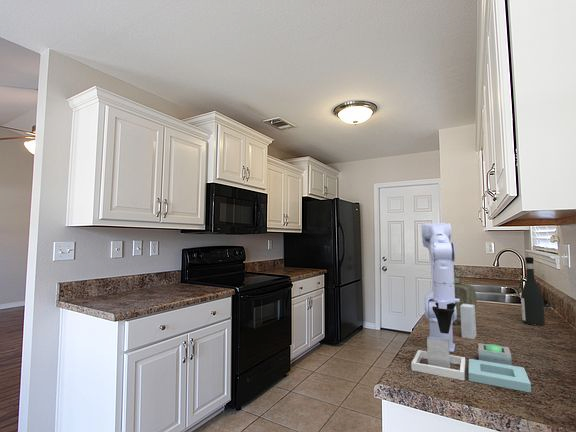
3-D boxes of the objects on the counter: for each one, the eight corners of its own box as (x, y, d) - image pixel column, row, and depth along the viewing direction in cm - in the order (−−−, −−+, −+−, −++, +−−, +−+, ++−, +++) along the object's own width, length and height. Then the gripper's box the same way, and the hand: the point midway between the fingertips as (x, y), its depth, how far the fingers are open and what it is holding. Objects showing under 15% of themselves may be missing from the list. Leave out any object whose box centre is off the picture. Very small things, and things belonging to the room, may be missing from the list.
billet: (429, 363, 94) (428, 335, 95) (450, 367, 91) (449, 338, 92) (428, 367, 91) (427, 339, 91) (449, 371, 88) (448, 342, 89)
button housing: (478, 356, 100) (478, 343, 101) (509, 360, 96) (508, 347, 97) (479, 364, 94) (478, 350, 94) (512, 369, 90) (511, 354, 90)
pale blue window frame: (469, 365, 92) (469, 358, 92) (524, 375, 86) (523, 367, 86) (468, 380, 82) (468, 372, 82) (531, 392, 75) (530, 384, 76)
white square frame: (418, 356, 100) (418, 349, 100) (465, 364, 93) (465, 357, 93) (411, 370, 89) (411, 362, 89) (464, 380, 82) (464, 372, 82)
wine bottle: (519, 323, 144) (515, 257, 147) (526, 321, 148) (522, 256, 151) (541, 327, 137) (536, 257, 140) (547, 324, 141) (543, 257, 144)
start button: (486, 354, 98) (485, 343, 98) (501, 357, 96) (501, 345, 96) (486, 358, 94) (486, 346, 95) (502, 361, 92) (502, 349, 93)
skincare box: (464, 334, 125) (462, 303, 127) (476, 336, 123) (475, 304, 124) (461, 337, 121) (459, 305, 122) (473, 339, 118) (472, 307, 119)
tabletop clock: (477, 324, 140) (474, 268, 143) (471, 328, 134) (469, 269, 136) (443, 319, 151) (441, 266, 153) (436, 322, 144) (434, 267, 146)
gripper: (458, 286, 85) (460, 338, 84) (459, 281, 98) (461, 326, 97) (429, 284, 89) (431, 334, 88) (434, 280, 101) (436, 323, 100)
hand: (445, 330), depth 92 cm, fingers open, 7 cm apart
